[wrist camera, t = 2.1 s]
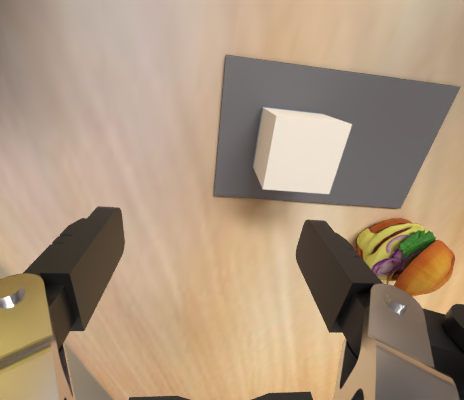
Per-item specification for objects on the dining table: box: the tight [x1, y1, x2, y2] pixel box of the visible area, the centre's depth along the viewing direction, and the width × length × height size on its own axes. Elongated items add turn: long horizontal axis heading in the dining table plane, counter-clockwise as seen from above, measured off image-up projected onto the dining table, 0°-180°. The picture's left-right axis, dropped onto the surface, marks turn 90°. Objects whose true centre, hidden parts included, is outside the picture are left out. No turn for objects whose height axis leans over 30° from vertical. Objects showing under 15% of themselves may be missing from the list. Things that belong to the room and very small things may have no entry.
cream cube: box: [253, 107, 352, 194], centre depth 26 cm, size 7×7×7 cm
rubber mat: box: [214, 55, 460, 208], centre depth 29 cm, size 27×16×1 cm, turn 84°
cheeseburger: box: [357, 218, 455, 296], centre depth 34 cm, size 10×11×10 cm
